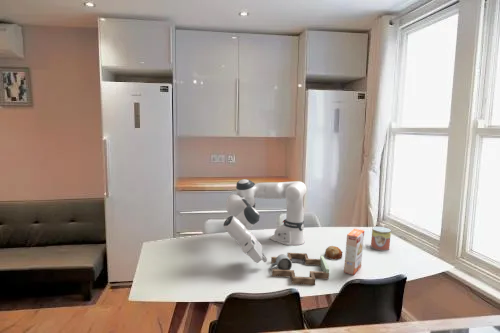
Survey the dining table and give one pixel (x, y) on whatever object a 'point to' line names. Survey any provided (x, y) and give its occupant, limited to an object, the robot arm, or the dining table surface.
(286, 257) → the ceramic mug
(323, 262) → the sage end wall
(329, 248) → the bread roll
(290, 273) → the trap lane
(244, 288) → the dining table surface
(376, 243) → the canned food
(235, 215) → the robot arm
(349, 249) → the cracker box
